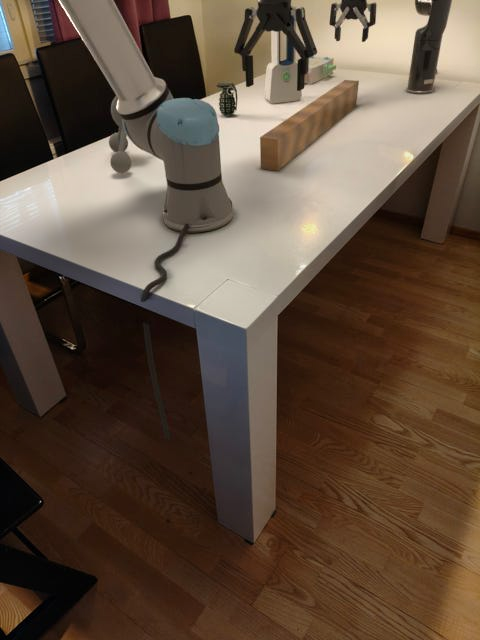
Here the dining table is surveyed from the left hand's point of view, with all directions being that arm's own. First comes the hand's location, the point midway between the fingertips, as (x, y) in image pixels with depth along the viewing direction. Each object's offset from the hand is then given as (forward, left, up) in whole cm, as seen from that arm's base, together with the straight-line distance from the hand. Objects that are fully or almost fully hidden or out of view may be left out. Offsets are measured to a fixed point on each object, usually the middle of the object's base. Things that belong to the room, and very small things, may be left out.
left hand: (274, 87), depth 118 cm
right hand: (+58, 0, +1) cm, 58 cm away
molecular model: (-9, +36, -19) cm, 42 cm away
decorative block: (+97, +30, -19) cm, 104 cm away
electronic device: (+61, +26, -19) cm, 69 cm away
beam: (+29, 0, -19) cm, 35 cm away
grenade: (+37, +35, -19) cm, 54 cm away
